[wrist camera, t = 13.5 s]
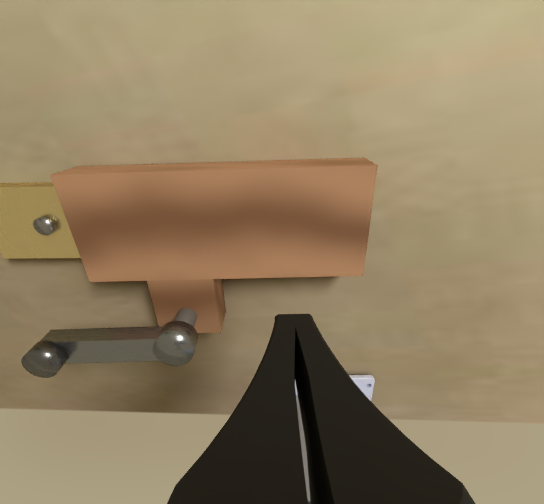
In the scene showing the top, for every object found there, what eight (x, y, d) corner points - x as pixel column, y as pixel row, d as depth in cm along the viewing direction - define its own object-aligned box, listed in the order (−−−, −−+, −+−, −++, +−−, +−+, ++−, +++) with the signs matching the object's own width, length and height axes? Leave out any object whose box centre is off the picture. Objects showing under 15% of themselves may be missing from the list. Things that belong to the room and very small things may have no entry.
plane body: (347, 308, 23) (362, 348, 19) (124, 313, 23) (96, 353, 20) (364, 157, 18) (389, 172, 14) (77, 166, 18) (24, 182, 14)
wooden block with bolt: (100, 248, 21) (86, 260, 20) (20, 248, 21) (-2, 261, 20) (79, 180, 19) (60, 188, 17) (-11, 181, 19) (-39, 189, 17)
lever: (194, 319, 18) (185, 346, 16) (200, 348, 19) (192, 375, 17) (41, 324, 18) (13, 351, 16) (55, 352, 19) (31, 380, 17)
